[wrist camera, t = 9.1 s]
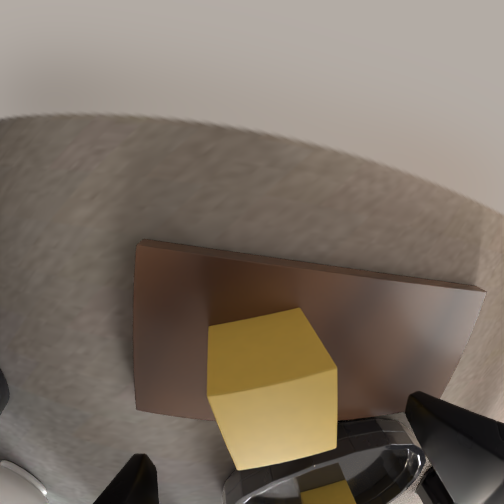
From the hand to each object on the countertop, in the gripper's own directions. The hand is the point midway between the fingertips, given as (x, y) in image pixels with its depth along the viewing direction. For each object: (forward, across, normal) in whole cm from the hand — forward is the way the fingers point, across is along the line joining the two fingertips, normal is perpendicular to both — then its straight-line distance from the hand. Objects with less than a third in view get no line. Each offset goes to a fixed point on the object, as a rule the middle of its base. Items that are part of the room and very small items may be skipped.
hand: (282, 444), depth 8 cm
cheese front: (+5, 0, 0) cm, 5 cm away
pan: (+6, -3, +16) cm, 17 cm away
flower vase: (+7, +28, +16) cm, 33 cm away
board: (+6, -4, +2) cm, 8 cm away
